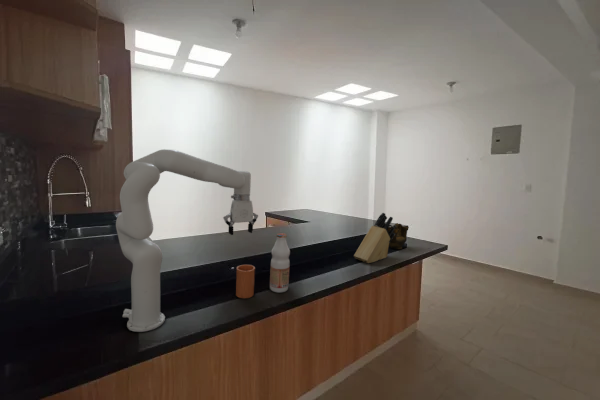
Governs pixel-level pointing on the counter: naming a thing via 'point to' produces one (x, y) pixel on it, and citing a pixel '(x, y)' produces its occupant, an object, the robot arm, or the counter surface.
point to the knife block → (376, 241)
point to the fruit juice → (280, 265)
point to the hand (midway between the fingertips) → (240, 233)
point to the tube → (245, 281)
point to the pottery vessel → (398, 236)
